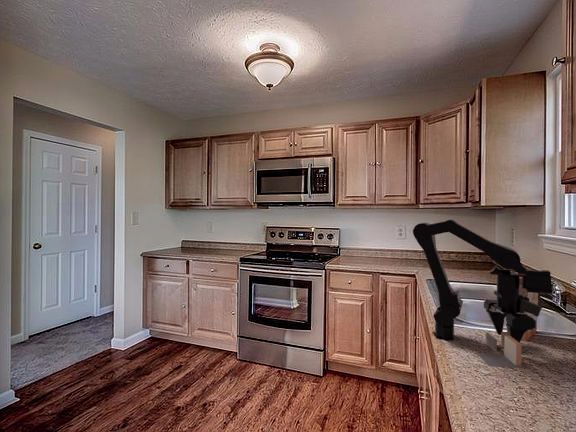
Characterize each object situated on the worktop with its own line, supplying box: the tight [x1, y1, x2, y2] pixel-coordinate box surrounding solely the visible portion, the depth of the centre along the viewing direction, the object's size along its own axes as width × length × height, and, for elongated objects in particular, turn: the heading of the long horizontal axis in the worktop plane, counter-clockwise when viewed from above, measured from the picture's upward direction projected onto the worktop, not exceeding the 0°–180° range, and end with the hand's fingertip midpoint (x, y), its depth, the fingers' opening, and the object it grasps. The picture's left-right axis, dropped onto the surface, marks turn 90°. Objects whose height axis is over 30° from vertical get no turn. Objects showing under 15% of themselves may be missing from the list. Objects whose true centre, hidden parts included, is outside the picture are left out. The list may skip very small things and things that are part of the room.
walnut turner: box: [485, 331, 509, 352], centre depth 99 cm, size 6×6×5 cm
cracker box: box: [506, 272, 539, 342], centre depth 109 cm, size 14×6×21 cm, turn 131°
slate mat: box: [476, 352, 525, 369], centre depth 91 cm, size 8×9×1 cm
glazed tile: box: [503, 335, 522, 366], centre depth 90 cm, size 6×1×6 cm, turn 171°
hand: (507, 340), depth 98 cm, fingers open, 9 cm apart
